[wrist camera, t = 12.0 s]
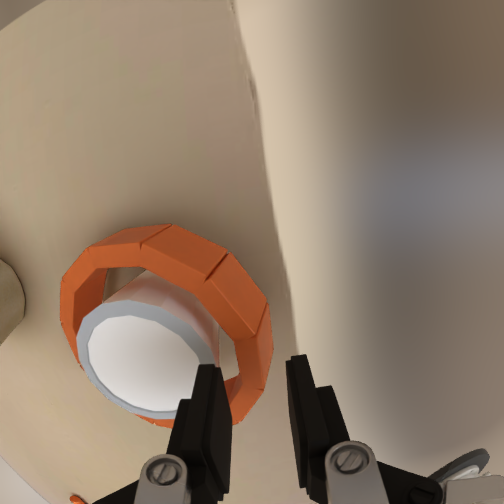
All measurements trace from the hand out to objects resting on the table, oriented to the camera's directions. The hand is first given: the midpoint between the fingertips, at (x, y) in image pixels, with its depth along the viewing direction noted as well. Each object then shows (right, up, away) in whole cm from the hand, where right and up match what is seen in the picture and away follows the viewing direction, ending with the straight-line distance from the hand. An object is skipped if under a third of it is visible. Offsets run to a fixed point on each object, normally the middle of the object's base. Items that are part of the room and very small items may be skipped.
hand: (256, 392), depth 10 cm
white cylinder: (-5, +2, +9) cm, 10 cm away
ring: (-5, +1, +5) cm, 7 cm away
